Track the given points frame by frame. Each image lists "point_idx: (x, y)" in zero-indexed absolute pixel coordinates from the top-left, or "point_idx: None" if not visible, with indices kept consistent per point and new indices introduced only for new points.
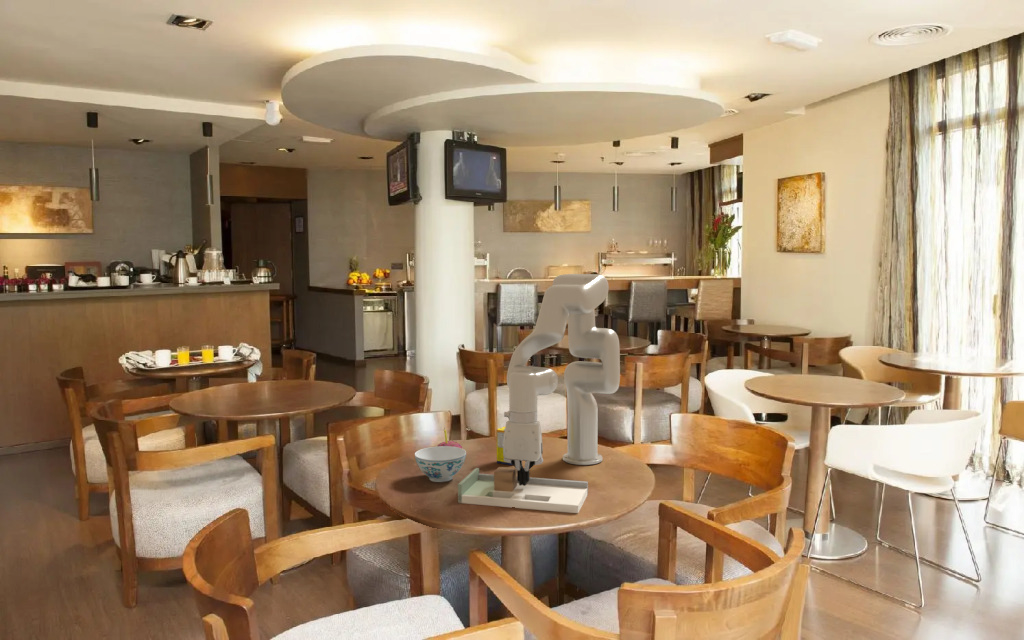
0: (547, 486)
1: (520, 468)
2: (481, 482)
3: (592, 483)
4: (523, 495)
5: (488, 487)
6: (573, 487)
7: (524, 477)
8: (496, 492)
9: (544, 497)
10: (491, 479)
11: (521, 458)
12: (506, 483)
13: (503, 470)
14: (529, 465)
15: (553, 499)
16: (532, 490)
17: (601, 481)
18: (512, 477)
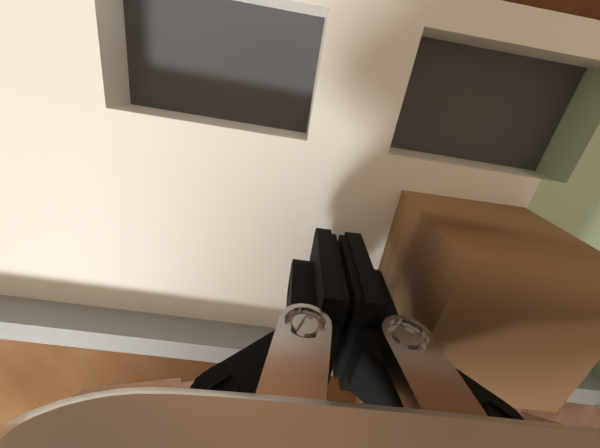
0: (186, 298)
1: (377, 342)
2: None
3: (36, 399)
4: (318, 116)
5: None
6: (30, 294)
7: (323, 261)
8: (512, 174)
9: (163, 114)
10: None
11: (420, 443)
12: (468, 217)
13: (540, 336)
14: (266, 362)
15: (64, 34)
16: (265, 224)
17: (10, 418)
18: (438, 248)
